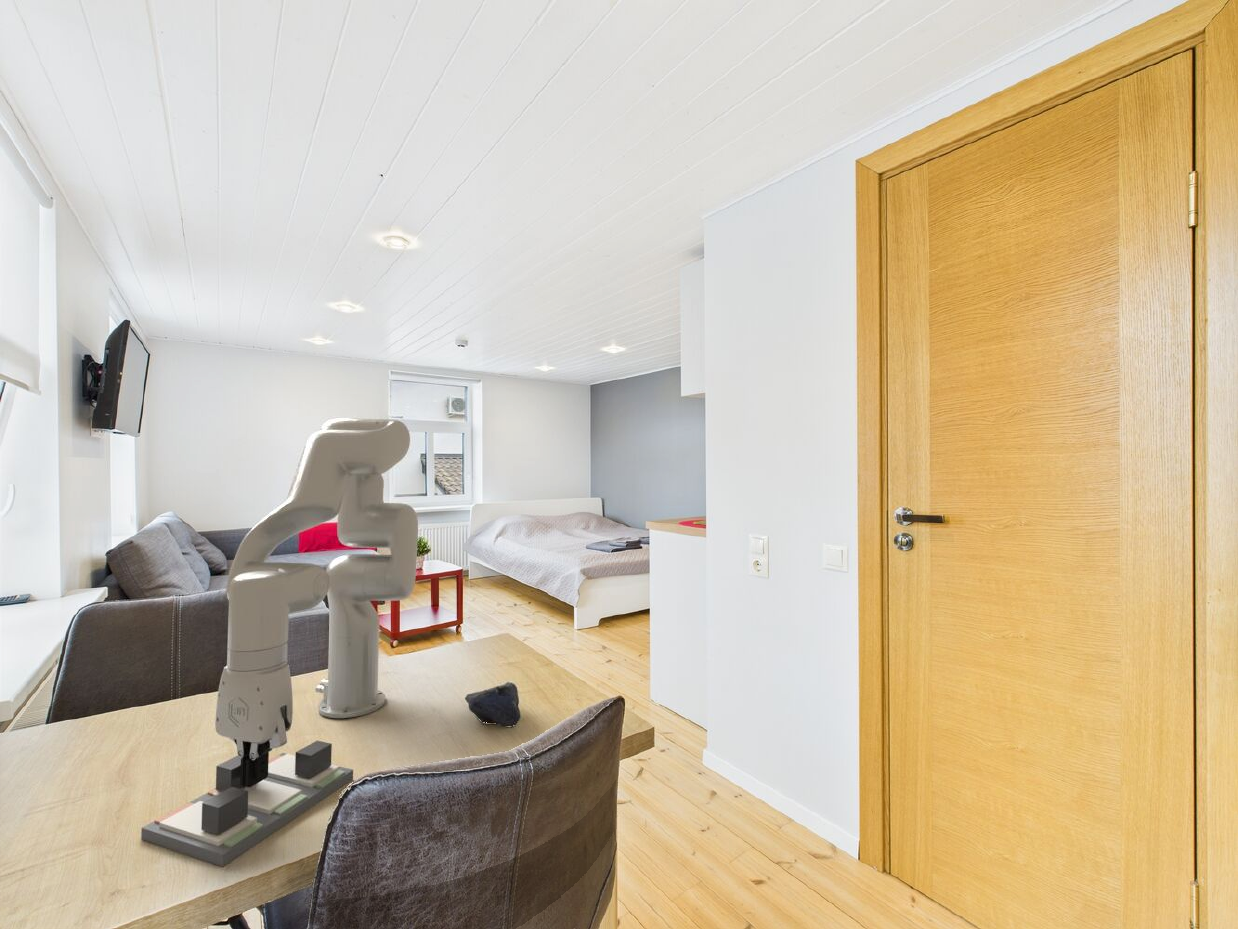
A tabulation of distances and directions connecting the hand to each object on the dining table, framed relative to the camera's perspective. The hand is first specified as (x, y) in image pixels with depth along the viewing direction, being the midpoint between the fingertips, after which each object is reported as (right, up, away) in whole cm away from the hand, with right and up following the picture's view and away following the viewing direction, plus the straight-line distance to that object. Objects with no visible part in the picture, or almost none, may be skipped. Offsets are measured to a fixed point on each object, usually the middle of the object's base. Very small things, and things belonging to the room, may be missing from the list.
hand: (254, 781), depth 82 cm
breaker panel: (+1, -3, 0) cm, 3 cm away
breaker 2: (+6, -1, +5) cm, 8 cm away
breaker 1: (+1, -1, -8) cm, 8 cm away
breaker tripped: (-3, -1, +1) cm, 4 cm away
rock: (+28, -5, +30) cm, 41 cm away
